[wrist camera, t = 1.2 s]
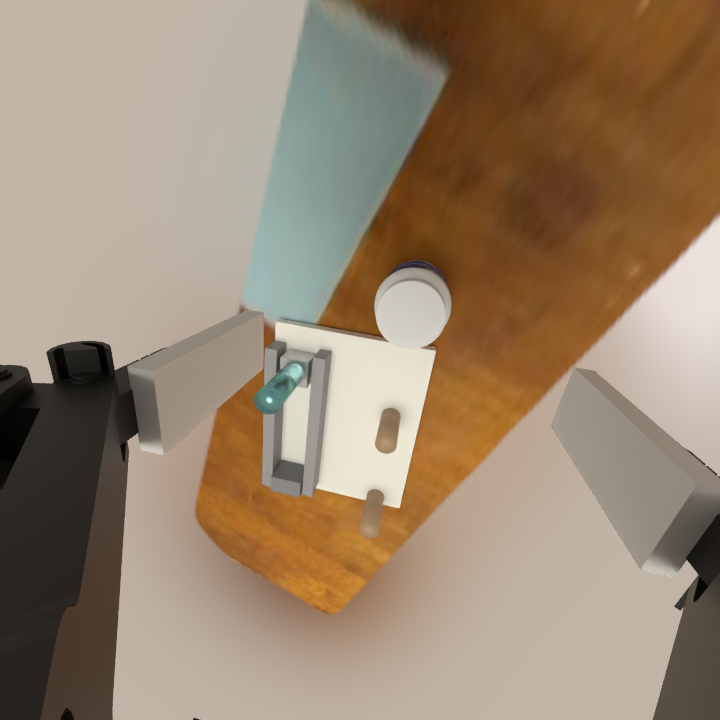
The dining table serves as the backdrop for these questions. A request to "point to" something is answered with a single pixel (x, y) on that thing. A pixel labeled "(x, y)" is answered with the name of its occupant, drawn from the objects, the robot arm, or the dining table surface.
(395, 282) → the pill bottle
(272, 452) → the board
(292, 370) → the pin
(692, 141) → the dining table surface
